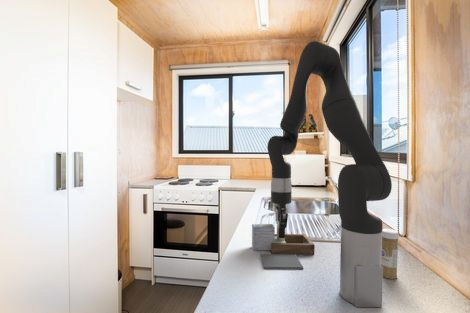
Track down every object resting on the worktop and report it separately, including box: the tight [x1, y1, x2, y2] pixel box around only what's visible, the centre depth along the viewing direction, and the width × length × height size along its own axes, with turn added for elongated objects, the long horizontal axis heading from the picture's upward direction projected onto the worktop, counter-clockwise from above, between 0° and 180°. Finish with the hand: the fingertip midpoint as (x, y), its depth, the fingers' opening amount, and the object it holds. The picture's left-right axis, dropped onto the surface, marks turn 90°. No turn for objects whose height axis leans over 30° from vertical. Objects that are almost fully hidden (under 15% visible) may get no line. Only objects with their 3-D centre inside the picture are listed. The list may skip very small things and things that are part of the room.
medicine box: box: [251, 223, 276, 252], centre depth 96 cm, size 8×4×9 cm, turn 92°
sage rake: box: [274, 218, 286, 243], centre depth 97 cm, size 7×4×11 cm, turn 1°
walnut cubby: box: [270, 233, 316, 256], centre depth 97 cm, size 11×15×4 cm
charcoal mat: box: [260, 253, 304, 270], centre depth 85 cm, size 10×12×1 cm
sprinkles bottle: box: [381, 228, 400, 280], centre depth 76 cm, size 5×5×14 cm
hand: (280, 235), depth 97 cm, fingers closed on sage rake, 3 cm apart
